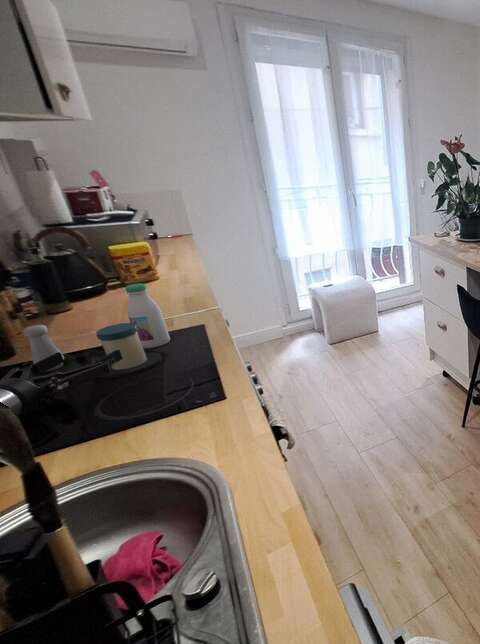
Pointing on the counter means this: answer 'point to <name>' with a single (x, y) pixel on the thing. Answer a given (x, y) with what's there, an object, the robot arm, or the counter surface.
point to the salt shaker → (41, 344)
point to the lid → (117, 331)
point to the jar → (126, 351)
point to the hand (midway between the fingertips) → (90, 355)
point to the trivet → (136, 367)
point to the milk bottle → (146, 317)
